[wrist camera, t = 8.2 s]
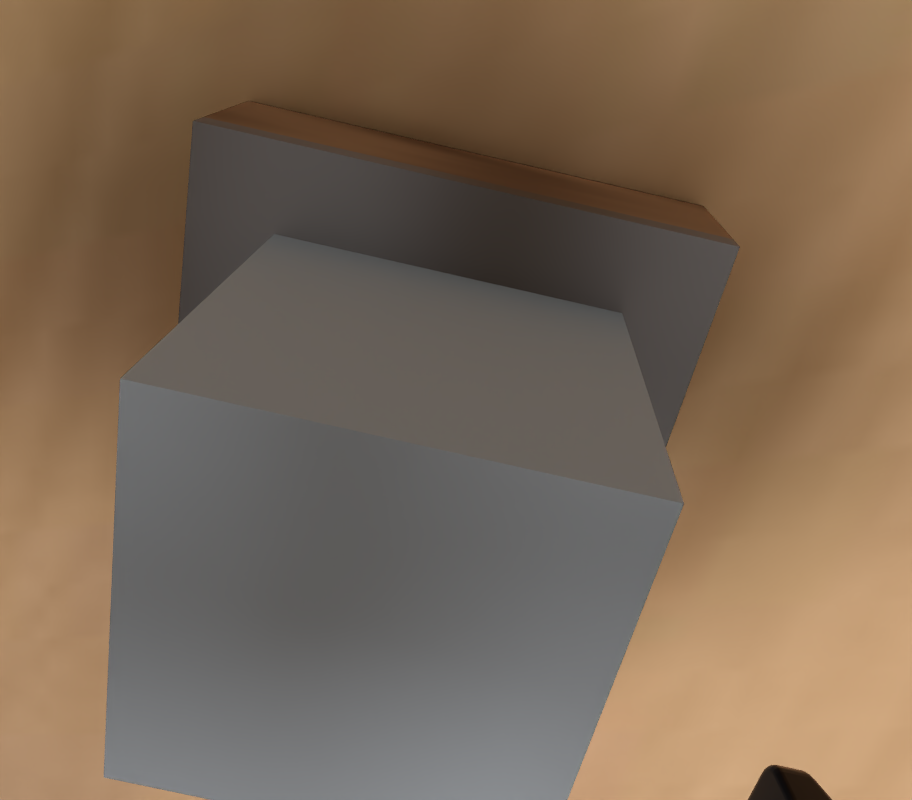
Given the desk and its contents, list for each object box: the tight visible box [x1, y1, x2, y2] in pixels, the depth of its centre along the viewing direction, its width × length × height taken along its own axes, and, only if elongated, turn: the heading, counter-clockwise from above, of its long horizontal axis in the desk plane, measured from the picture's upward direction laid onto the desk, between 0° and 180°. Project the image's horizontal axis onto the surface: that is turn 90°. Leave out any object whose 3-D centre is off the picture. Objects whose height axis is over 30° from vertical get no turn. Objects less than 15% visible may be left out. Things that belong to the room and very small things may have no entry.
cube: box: [104, 234, 684, 800], centre depth 13 cm, size 6×6×6 cm
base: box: [178, 101, 740, 447], centre depth 17 cm, size 9×9×3 cm
